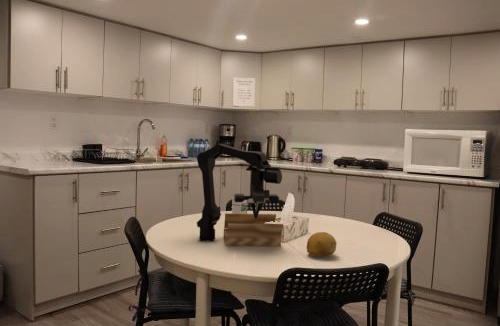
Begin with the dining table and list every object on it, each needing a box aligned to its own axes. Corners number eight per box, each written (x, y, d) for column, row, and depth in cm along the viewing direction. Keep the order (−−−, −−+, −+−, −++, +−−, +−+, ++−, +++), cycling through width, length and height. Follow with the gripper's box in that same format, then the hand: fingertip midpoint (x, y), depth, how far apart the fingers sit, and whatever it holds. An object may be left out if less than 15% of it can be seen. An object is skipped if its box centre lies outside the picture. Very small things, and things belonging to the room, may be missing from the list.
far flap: (224, 228, 200) (224, 227, 200) (274, 228, 203) (274, 228, 203) (225, 214, 196) (225, 213, 197) (276, 214, 199) (276, 213, 200)
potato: (303, 252, 181) (304, 229, 180) (332, 252, 182) (333, 229, 181) (309, 260, 170) (310, 235, 170) (340, 260, 172) (341, 235, 171)
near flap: (280, 236, 188) (280, 237, 188) (226, 236, 185) (226, 237, 185) (283, 223, 184) (283, 224, 183) (228, 223, 180) (228, 224, 180)
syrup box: (240, 226, 223) (241, 198, 221) (231, 224, 226) (232, 196, 225) (246, 224, 227) (247, 197, 226) (238, 222, 231) (239, 195, 230)
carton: (225, 246, 186) (226, 237, 185) (223, 237, 200) (223, 228, 200) (280, 246, 189) (281, 237, 188) (274, 237, 203) (274, 228, 203)
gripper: (236, 184, 173) (235, 222, 174) (282, 185, 175) (280, 222, 177) (234, 180, 184) (233, 216, 185) (277, 181, 186) (275, 216, 188)
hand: (255, 218), depth 184 cm, fingers closed
